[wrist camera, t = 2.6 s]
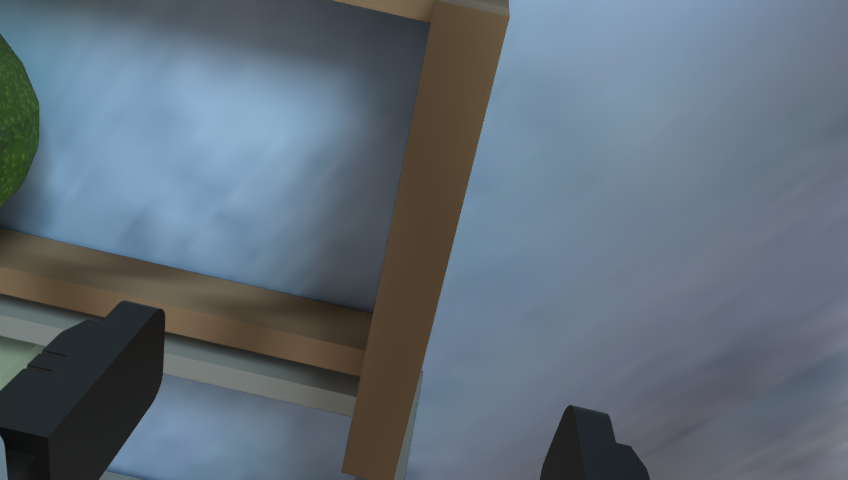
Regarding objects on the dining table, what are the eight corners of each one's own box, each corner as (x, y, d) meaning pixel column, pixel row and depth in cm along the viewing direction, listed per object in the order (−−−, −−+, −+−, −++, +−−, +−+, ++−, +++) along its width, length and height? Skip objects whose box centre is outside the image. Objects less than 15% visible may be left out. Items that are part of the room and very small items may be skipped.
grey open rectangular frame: (423, 371, 27) (399, 509, 21) (378, 548, 32) (348, 703, 26) (-138, 241, 27) (-331, 340, 21) (-96, 438, 32) (-240, 565, 26)
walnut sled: (507, -15, 20) (509, 16, 14) (418, 349, 26) (392, 484, 20) (-243, -186, 20) (-577, -231, 14) (-152, 218, 27) (-354, 311, 20)
